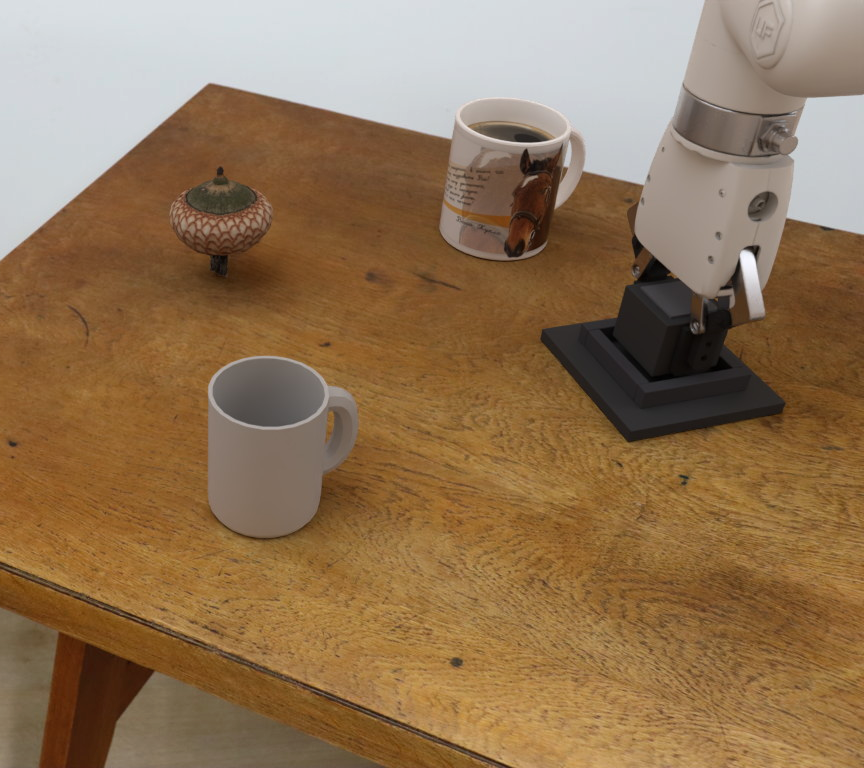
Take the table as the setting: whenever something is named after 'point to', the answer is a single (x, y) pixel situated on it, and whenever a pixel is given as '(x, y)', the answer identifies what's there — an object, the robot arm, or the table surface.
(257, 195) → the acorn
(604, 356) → the base pad
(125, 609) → the table surface
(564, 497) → the table surface
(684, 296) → the small cube
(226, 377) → the cup
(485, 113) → the mug
